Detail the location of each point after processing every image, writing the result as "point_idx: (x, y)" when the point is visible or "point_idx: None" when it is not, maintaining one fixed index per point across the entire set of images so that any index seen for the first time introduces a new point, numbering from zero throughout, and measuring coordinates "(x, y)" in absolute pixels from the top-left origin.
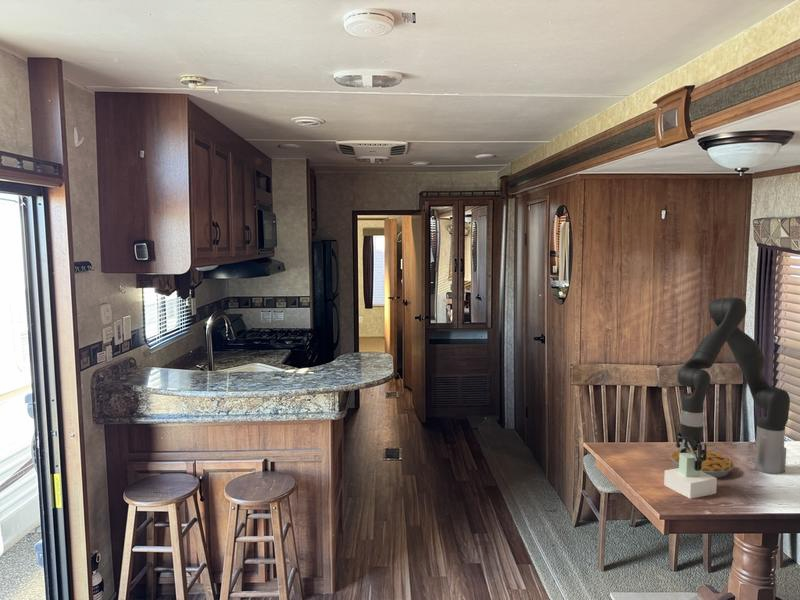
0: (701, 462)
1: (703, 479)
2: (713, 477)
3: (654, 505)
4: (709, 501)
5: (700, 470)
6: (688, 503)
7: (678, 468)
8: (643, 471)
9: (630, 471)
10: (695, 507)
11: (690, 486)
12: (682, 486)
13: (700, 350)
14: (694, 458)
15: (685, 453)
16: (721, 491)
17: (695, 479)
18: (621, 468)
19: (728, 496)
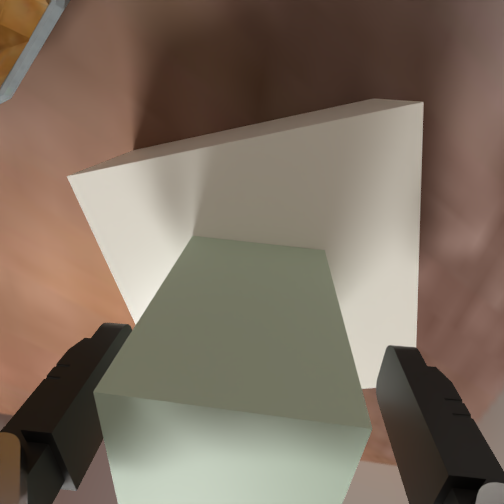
0: (502, 473)
1: (392, 259)
2: (388, 125)
3: (380, 457)
4: (455, 233)
5: (44, 14)
6: (422, 346)
7: (134, 306)
8: (24, 326)
9: (35, 374)
10: (474, 343)
11: None
12: None
13: None
14: (345, 488)
15: (138, 488)
16: (358, 20)
17: (367, 318)
18: (5, 388)
19: (458, 27)
